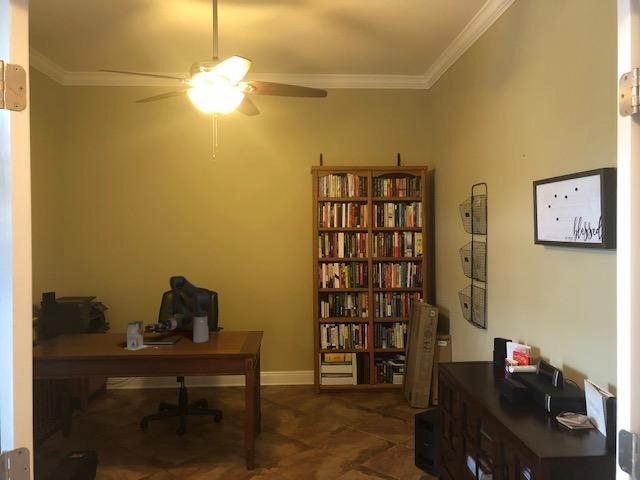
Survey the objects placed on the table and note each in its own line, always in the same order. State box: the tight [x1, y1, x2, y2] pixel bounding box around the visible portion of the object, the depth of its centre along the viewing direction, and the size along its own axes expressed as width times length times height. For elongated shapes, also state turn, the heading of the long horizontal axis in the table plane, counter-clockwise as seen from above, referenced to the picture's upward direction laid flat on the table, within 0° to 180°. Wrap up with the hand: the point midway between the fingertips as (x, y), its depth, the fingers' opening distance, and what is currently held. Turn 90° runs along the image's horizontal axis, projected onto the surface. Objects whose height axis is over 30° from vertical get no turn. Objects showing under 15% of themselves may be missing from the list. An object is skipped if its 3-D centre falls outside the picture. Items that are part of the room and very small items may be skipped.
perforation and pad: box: [124, 344, 158, 351], centre depth 297 cm, size 13×16×1 cm
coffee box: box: [126, 320, 144, 350], centre depth 298 cm, size 9×6×16 cm
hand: (149, 328), depth 307 cm, fingers open, 8 cm apart
